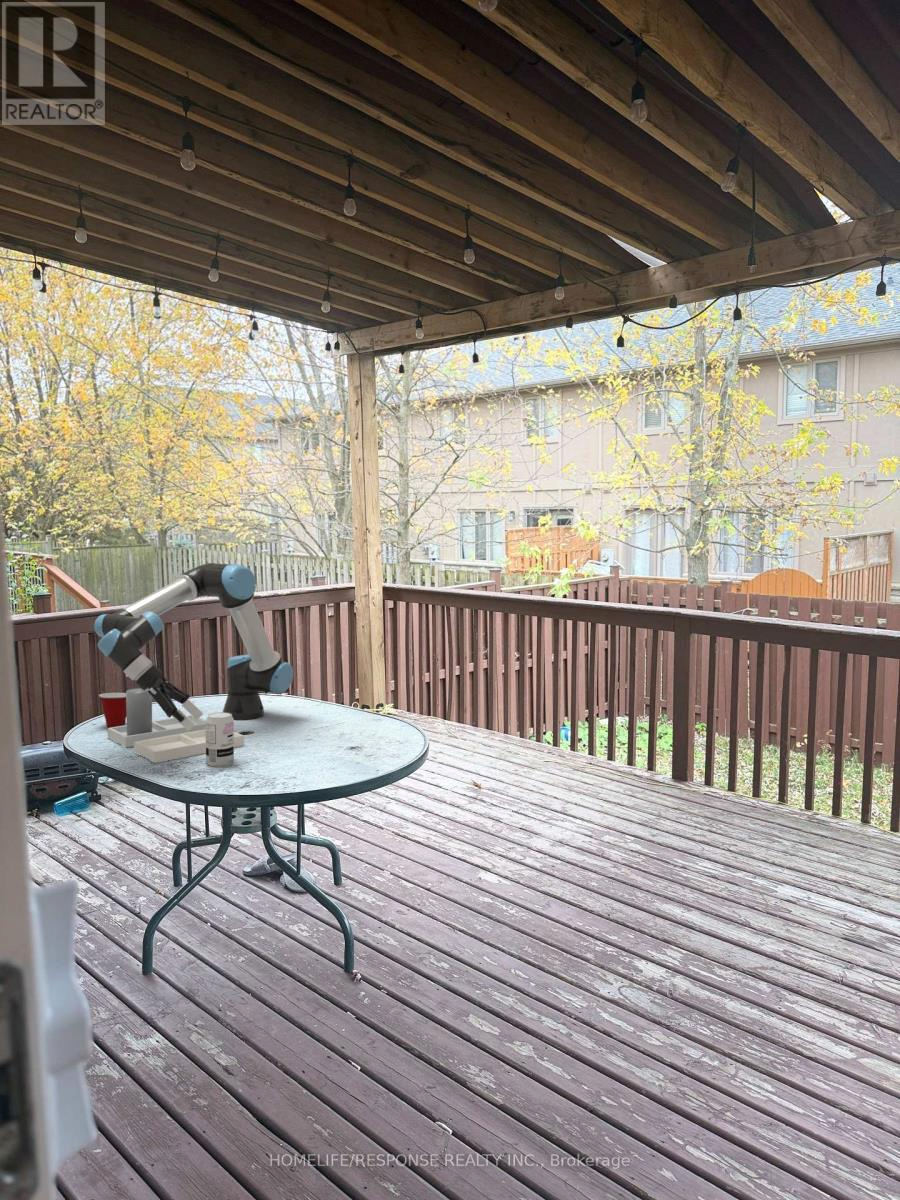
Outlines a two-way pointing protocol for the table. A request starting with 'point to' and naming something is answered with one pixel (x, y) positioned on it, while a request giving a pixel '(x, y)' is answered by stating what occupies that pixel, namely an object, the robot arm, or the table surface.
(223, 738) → the supplement can
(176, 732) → the tray
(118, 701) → the plastic cup
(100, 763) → the table surface
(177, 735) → the tray
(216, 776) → the table surface
